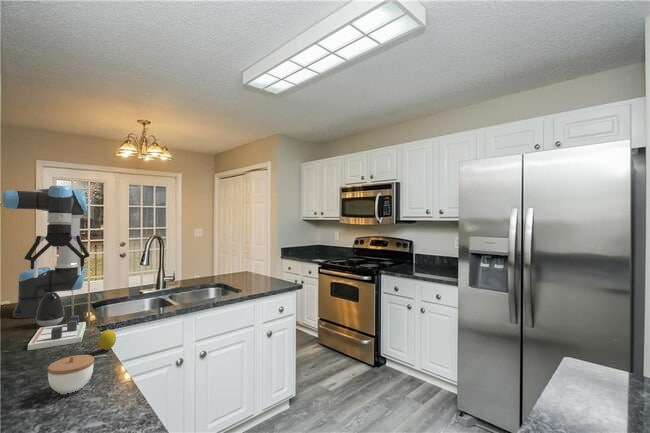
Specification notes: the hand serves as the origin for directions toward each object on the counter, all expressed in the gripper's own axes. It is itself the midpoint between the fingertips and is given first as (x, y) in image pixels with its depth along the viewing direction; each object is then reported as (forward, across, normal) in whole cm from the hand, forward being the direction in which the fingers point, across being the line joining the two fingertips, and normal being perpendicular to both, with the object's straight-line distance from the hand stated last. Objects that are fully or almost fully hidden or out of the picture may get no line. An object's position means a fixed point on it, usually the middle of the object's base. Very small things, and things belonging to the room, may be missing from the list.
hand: (58, 276), depth 129 cm
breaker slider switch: (+24, +1, -3) cm, 24 cm away
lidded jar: (+27, +10, -48) cm, 56 cm away
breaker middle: (+24, +4, +5) cm, 25 cm away
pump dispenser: (+26, -6, +26) cm, 37 cm away
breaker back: (+24, +4, +13) cm, 27 cm away
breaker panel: (+26, 0, +5) cm, 27 cm away
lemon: (+27, +18, -20) cm, 38 cm away
